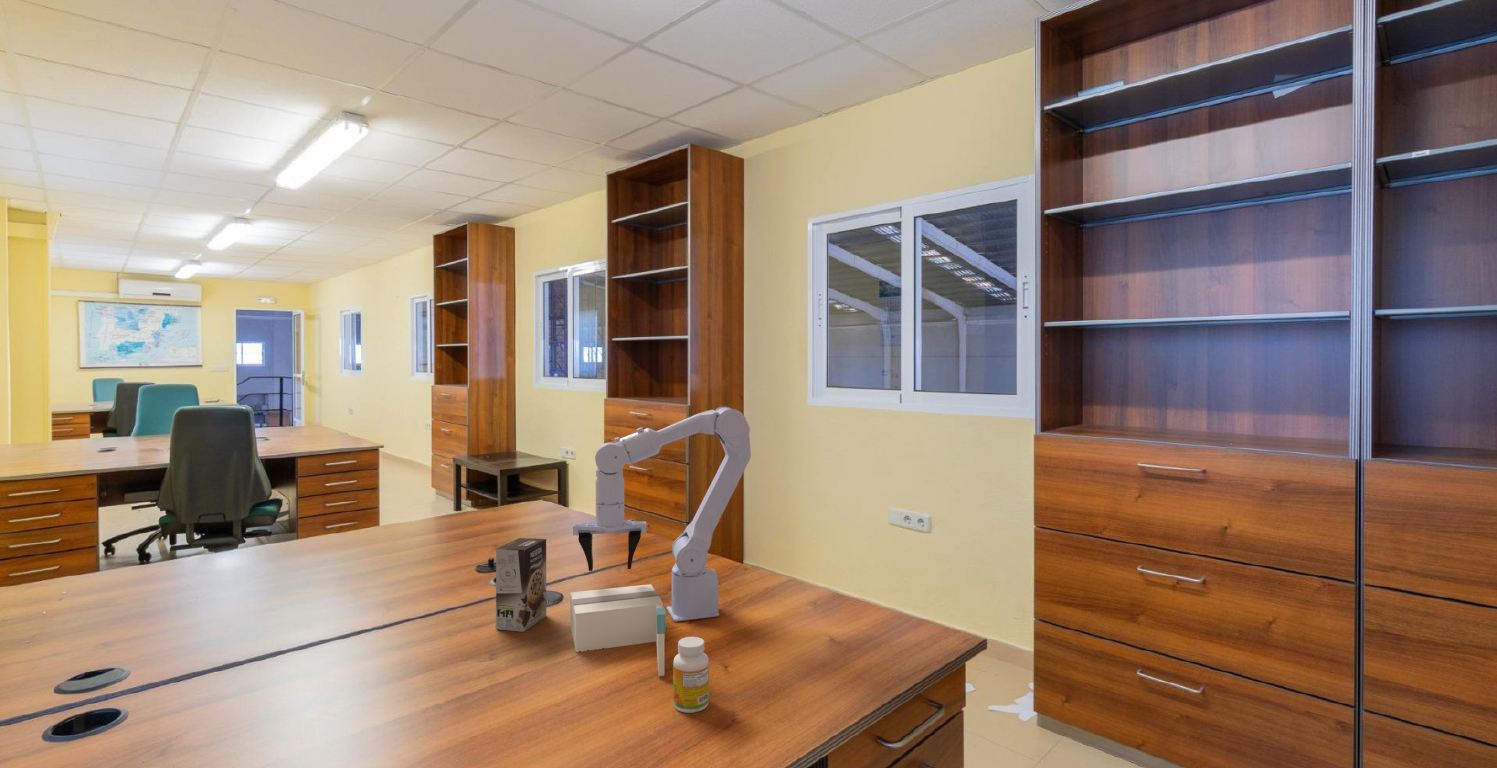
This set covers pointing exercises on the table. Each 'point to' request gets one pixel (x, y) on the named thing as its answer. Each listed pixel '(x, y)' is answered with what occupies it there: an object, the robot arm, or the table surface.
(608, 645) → the carton
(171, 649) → the table surface
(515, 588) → the coffee box
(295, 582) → the table surface
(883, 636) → the table surface
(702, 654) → the supplement bottle
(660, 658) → the green beige flat block
